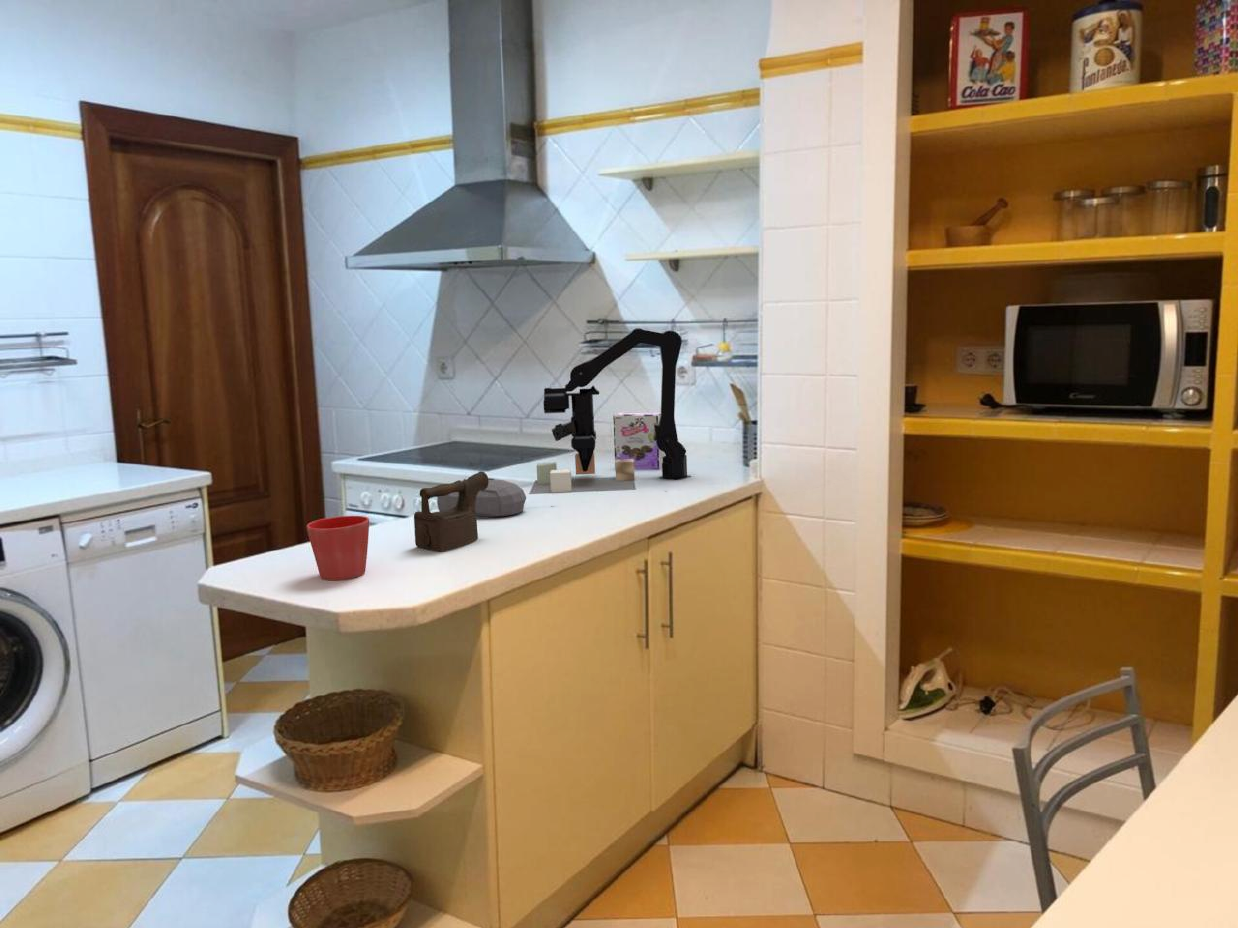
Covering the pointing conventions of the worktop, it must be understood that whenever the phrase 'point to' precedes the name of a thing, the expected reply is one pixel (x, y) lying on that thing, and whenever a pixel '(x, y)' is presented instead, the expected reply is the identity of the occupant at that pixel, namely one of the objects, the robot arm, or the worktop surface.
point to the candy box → (637, 440)
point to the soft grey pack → (491, 499)
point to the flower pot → (340, 546)
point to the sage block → (545, 472)
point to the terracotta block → (579, 467)
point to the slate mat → (588, 485)
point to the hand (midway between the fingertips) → (585, 469)
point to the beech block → (624, 470)
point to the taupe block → (560, 480)
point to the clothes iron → (449, 515)
